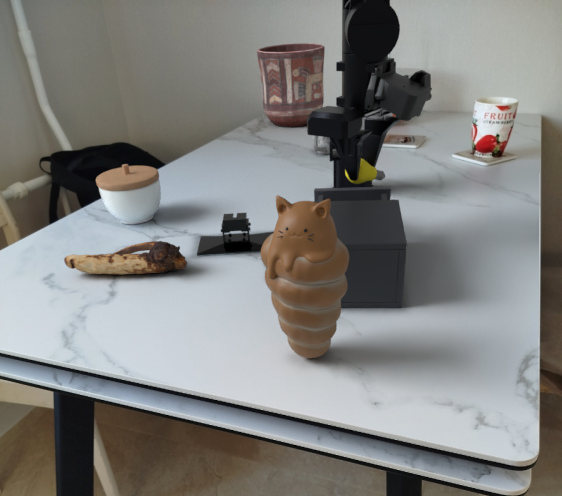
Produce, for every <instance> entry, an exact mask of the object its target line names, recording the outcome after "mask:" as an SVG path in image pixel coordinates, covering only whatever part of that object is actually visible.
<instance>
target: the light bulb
mask: <svg viewBox="0 0 562 496" xmlns="http://www.w3.org/2000/svg"><path fill="white" fill-rule="evenodd" d="M345 174H346V177H347V178H348V180H349V181H350V182H352V183H354V184H360V183H363V182H366V181H372V182H373V181H383V180H384V179H385V178H386V174H385V171H384V170H380V169H377V168H376V166H375V167H373V166H371V165H370V164H369V163H368V162H366V161H365V160H364V159H362V158H361V162H360V170H359V176H358V180H356V181H353V180H350V178H349V176H348V174H347V172H346V170H345Z"/></svg>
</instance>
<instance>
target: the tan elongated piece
mask: <svg viewBox="0 0 562 496" xmlns="http://www.w3.org/2000/svg"><path fill="white" fill-rule="evenodd" d="M180 249H181V246H176V245H175V244H172V243H170V242H168V241H162V240H159V241H157V240H154V241H146V242H140V243H136V244H132V245H129V246H126V247H124V248H121V249H119V250H117V251H115V252H113V253H105V254H103V253H100V254H68V255H66V256H65V257H64V258H63V260H64V264H65V265H66V267H68V268H69V269H72V270H74V269H76V270H77V271H79V272H81V273H84V274H85V273H86V274H91V275H92V274H93V275H94V274H96V275H98V274H99V275H101V274H104V275H121V276H123V275H124V276H125V275H133V274H136V275H144V274H157V273H158V274H162V273H164V274H166V273H168V272H174V271H176V270H183V269H185V268H187V266H188V261H187V260H186V257H185V255H183V254H182V253H181V251H180ZM146 251H147V252H146ZM138 252H142V253H138Z"/></svg>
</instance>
